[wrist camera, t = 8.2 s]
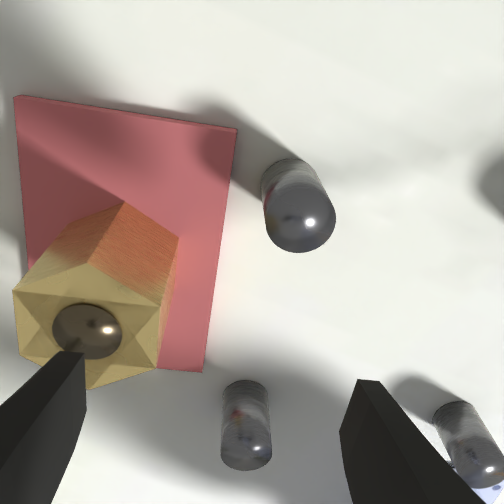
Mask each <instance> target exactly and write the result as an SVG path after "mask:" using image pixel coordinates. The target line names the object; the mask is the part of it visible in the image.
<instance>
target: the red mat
mask: <svg viewBox="0 0 504 504" xmlns="http://www.w3.org/2000/svg"><path fill="white" fill-rule="evenodd" d="M13 99H14V110H15V121H16V133H17V144H18V155H19V167H20V178H21V189H22V201H23V212H24V223H25V235H26V246H27V257H28V269H29V270H30V268H31V267H32V266H33V265H34V264H35V263H36V261H37V260H38V259H39V258H40V257H41V255H42V254H43V253H44V252H45V251H46V249H47V248H48V247H49V246H50V245H51V243H52V242H53V241H54V240H55V239H56V237H57V236H58V235H59V234H60V233H61V231H62V230H63V229H64V228H65V227H66V226H67V224H68V223H71V222H73V221H76V220H78V219H81V218H83V217H86V216H89V215H91V214H94V213H96V212H99V211H102V210H104V209H107V208H109V207H112V206H115V205H117V204H120V203H122V202H127V203H128V204H130V205H131V206H133V207H134V208H136V209H137V210H139V211H140V212H142V213H143V214H145V215H146V216H148V217H149V218H151V219H152V220H154V221H155V222H157V223H158V224H159V225H161V226H162V227H164V228H165V229H167V230H168V231H170V232H171V233H173V234H174V235H176V236H177V237H179V244H178V255H177V265H176V276H175V287H174V293H173V297H172V301H171V306H170V310H169V314H168V318H167V323H166V327H165V331H164V335H163V340H162V344H161V348H160V352H159V357H158V361H157V365H156V368H161V369H171V370H181V371H191V372H201V373H202V370H203V363H204V356H205V349H206V342H207V335H208V328H209V322H210V315H211V308H212V301H213V294H214V287H215V280H216V273H217V266H218V259H219V252H220V245H221V239H222V232H223V225H224V218H225V211H226V204H227V197H228V190H229V183H230V176H231V169H232V162H233V156H234V149H235V142H236V135H237V129H233V128H227V127H220V126H214V125H208V124H201V123H195V122H189V121H182V120H176V119H170V118H164V117H157V116H151V115H145V114H138V113H132V112H126V111H119V110H113V109H107V108H100V107H94V106H88V105H81V104H75V103H69V102H63V101H56V100H50V99H44V98H37V97H31V96H25V95H19V96H16V97H13Z"/></svg>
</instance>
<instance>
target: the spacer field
mask: <svg viewBox="0 0 504 504" xmlns="http://www.w3.org/2000/svg"><path fill="white" fill-rule="evenodd" d="M261 195H262V202H263V209H264V216H265V223H266V230H267V233H268V235H269V237H270V239H271V240H272V241H273V242H274V244H276V245H277V246H278V247H280V248H281V249H283V250H285V251H288V252H293V253H304V252H309V251H312V250H314V249H316V248H318V247H320V246H321V245H323V244H324V243H325V242H326V241H327V240H328V239H329V237H330V236H331V234H332V232H333V230H334V228H335V223H336V214H335V210H334V207H333V205H332V203H331V201H330V199H329V197H328V195H327V193H326V191H325V190H324V188H323V186H322V184H321V182H320V180H319V178H318V176H317V174H316V172H315V171H314V169H313V168H312V167H311V166H310V165H309V164H307V163H306V162H304V161H301V160H298V159H284V160H281V161H279V162H276V163H275V164H273V165H272V166H271V167H270V168H269V169H268V170H267V171H266V172H265V174H264V176H263V178H262V182H261ZM433 424H434V426H435V428H436V430H437V432H438V434H439V436H440V438H441V440H442V442H443V444H444V446H445V448H446V450H447V452H448V454H449V457H450V459H451V461H452V463H453V465H454V467H455V469H456V471H457V473H458V475H459V476H460V477H461V478H462V479H463V480H464V481H465V482H466V483H467V484H468V486H469V487H470V488H473V489H483V488H489V487H492V486H495V485H497V484H499V483H500V482H502V481H503V480H504V456H503V454H502V452H501V451H500V449H499V447H498V446H497V444H496V443H495V441H494V439H493V438H492V436H491V434H490V433H489V431H488V430H487V428H486V426H485V425H484V423H483V421H482V420H481V418H480V417H479V415H478V413H477V412H476V410H475V408H474V407H473V406H472V405H471V404H469V403H466V402H453V403H449V404H447V405H444V406H443V407H441V408H440V409H439V410H438V411H437V412H436V413H435V415H434V417H433ZM271 456H272V447H271V434H270V422H269V409H268V397H267V392H266V390H265V388H264V387H263V386H262V385H260V384H259V383H256V382H253V381H247V380H244V381H238V382H235V383H233V384H231V385H229V386H228V387H227V388H226V389H225V391H224V393H223V407H222V433H221V458H222V460H223V462H224V463H225V464H226V465H227V466H229V467H231V468H233V469H236V470H242V471H249V470H255V469H258V468H261V467H262V466H264V465H266V464H267V463H268V462H269V460H270V459H271Z"/></svg>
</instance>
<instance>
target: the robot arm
mask: <svg viewBox="0 0 504 504" xmlns="http://www.w3.org/2000/svg"><path fill="white" fill-rule="evenodd" d="M86 411H87V409H86V380H85V353H79V352H69V351H59V352H57V353H56V354H55V355H54V356H53V357H52V358H51V359H50V360H49V361H48V362H47V363H46V364H45V365H44V366H43V367H42V368H41V369H40V370H38V371H37V372H36V373H35V374H34V375H33V376H32V377H31V378H30V379H29V380H28V381H27V382H26V383H25V384H24V385H23V386H22V387H21V388H19V389H18V390H17V391H16V392H15V393H14V394H13V395H12V396H11V397H10V398H8V399H7V400H6V401H5V402H4V403H3V404H2V405H1V406H0V504H51V502H52V500H53V498H54V496H55V493H56V491H57V489H58V487H59V484H60V482H61V480H62V477H63V475H64V473H65V470H66V468H67V466H68V464H69V461H70V459H71V457H72V454H73V452H74V449H75V446H76V443H77V440H78V437H79V434H80V431H81V427H82V424H83V421H84V417H85V414H86ZM339 434H340V442H341V450H342V457H343V463H344V470H345V474H346V478H347V482H348V486H349V490H350V494H351V498H352V502H353V504H493V503H494V501H495V500H496V498H497V497H498V495H499V494H500V492H501V491H502V490H503V488H504V480H503V481H502V482H500V483H499V484H497V485H495V486H492V487H489V488H483V489H473V488H470V487H469V486H468V484H467V483H466V482H465V481H464V480H463V479H462V478H461V477H460V476H459V475H458V473H457V471H456V469H455V468H452V467H451V466H450V465H449V464H448V463H447V462H446V461H445V460H444V458H443V457H442V456H441V455H440V454H439V453H438V452H437V451H436V449H435V448H434V447H433V446H432V445H431V444H430V442H429V441H428V440H427V439H426V438H425V437H424V435H423V434H422V433H421V432H420V431H419V429H418V428H417V427H416V426H415V425H414V423H413V422H412V421H411V420H410V418H409V417H408V416H407V415H406V413H405V412H404V411H403V410H402V408H401V407H400V406H399V405H398V403H397V402H396V401H395V400H394V399H393V397H392V396H391V395H390V394H389V392H388V391H387V390H386V389H385V387H384V386H383V385H382V384H381V383H380V381H372V380H361V379H357V382H356V385H355V388H354V391H353V394H352V396H351V399H350V402H349V405H348V408H347V411H346V414H345V416H344V419H343V422H342V425H341V428H340V431H339Z"/></svg>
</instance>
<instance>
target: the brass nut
mask: <svg viewBox="0 0 504 504" xmlns="http://www.w3.org/2000/svg"><path fill="white" fill-rule="evenodd" d="M178 244H179V237H177V236H176V235H174V234H173V233H171V232H170V231H168V230H167V229H165V228H164V227H162V226H161V225H159V224H158V223H157V222H155V221H154V220H152V219H151V218H149V217H148V216H146V215H145V214H143V213H142V212H140V211H139V210H137V209H136V208H134V207H133V206H131V205H130V204H128V203H127V202H122V203H120V204H117V205H115V206H112V207H109V208H107V209H104V210H102V211H99V212H96V213H94V214H91V215H89V216H86V217H83V218H81V219H78V220H76V221H73V222H71V223H68V224H67V226H66V227H65V228H64V229H63V230H62V231H61V233H60V234H59V235H58V236H57V237H56V239H55V240H54V241H53V242H52V243H51V245H50V246H49V247H48V248H47V249H46V251H45V252H44V253H43V254H42V255H41V257H40V258H39V259H38V260H37V261H36V263H35V264H34V265H33V266H32V267H31V268H30V270H29V271H28V272H27V273H26V274H25V276H24V277H23V278H22V279H21V280H20V282H19V283H18V284H17V285H16V286H15V288H14V289H13V290H12V293H13V301H14V310H15V319H16V328H17V337H18V346H19V354H20V356H22V357H24V358H26V359H28V360H30V361H32V362H34V363H36V364H38V365H40V366H42V367H43V366H44V365H45V364H46V363H47V362H48V361H49V360H50V359H51V358H52V357H53V356H54V355H55V354H56V353H57V352H59V351H69V352H79V353H85V380H86V389H88V390H91V389H94V388H97V387H100V386H103V385H106V384H109V383H112V382H116V381H119V380H122V379H125V378H128V377H131V376H134V375H137V374H141V373H144V372H147V371H150V370H153V369H156V365H157V361H158V357H159V352H160V348H161V344H162V340H163V335H164V331H165V327H166V323H167V318H168V314H169V310H170V306H171V301H172V297H173V293H174V287H175V276H176V265H177V255H178Z"/></svg>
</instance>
